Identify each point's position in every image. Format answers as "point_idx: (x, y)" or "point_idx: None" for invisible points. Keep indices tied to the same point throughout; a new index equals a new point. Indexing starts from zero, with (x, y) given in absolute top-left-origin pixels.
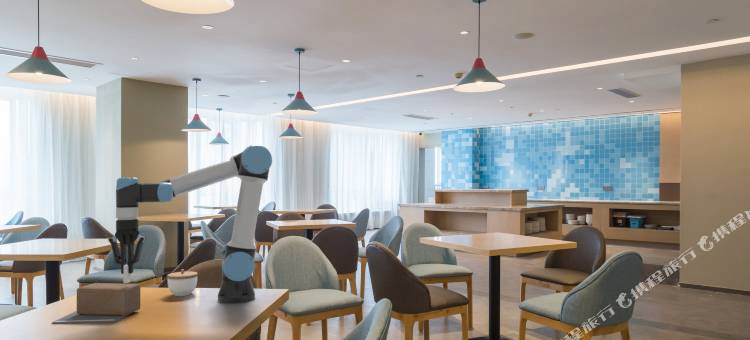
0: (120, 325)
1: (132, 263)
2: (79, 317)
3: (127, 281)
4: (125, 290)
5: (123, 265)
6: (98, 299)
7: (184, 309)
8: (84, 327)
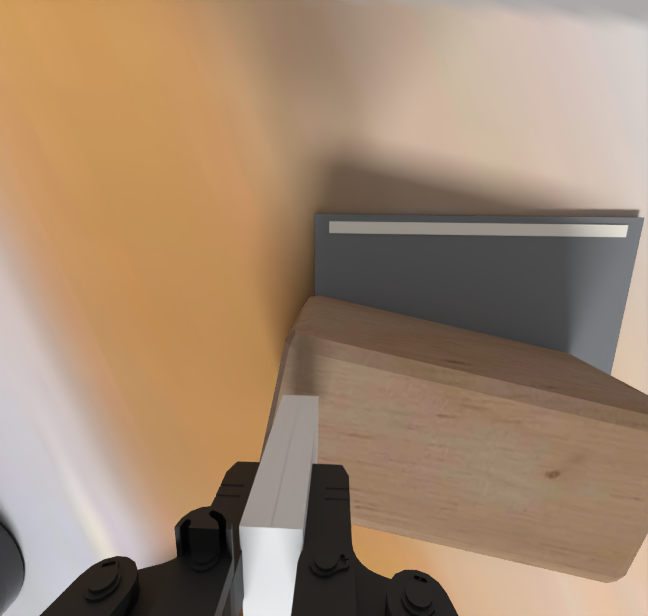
0: (269, 147)
1: (168, 568)
2: (533, 302)
3: (281, 400)
4: (291, 338)
5: (314, 546)
6: (481, 350)
7: (95, 413)
8: (439, 126)
